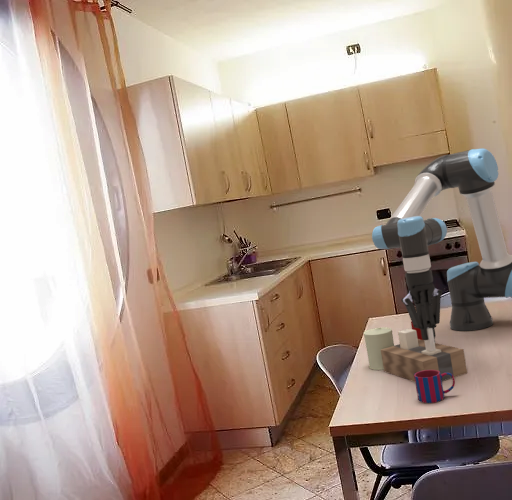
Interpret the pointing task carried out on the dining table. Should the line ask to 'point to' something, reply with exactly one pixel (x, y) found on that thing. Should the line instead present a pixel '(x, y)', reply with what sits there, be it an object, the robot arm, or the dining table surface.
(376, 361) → the can
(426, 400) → the mug
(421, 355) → the socket block
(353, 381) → the dining table surface
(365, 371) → the dining table surface
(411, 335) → the peg
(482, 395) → the dining table surface
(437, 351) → the peg
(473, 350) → the dining table surface
